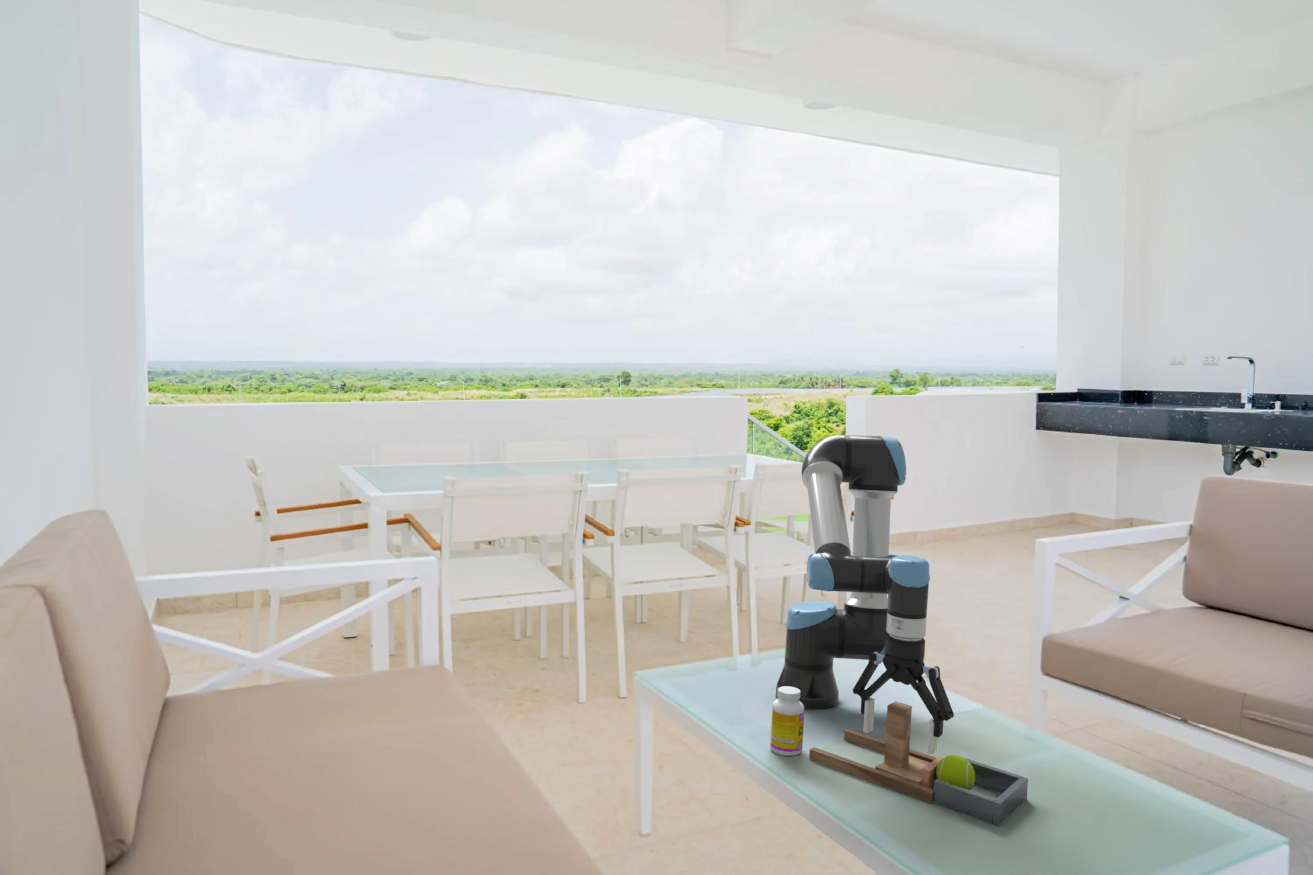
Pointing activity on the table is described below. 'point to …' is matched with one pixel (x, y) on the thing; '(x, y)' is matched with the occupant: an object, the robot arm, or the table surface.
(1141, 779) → the table surface
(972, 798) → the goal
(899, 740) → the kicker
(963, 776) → the tennis ball
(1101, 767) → the table surface
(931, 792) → the track rails
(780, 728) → the supplement bottle
